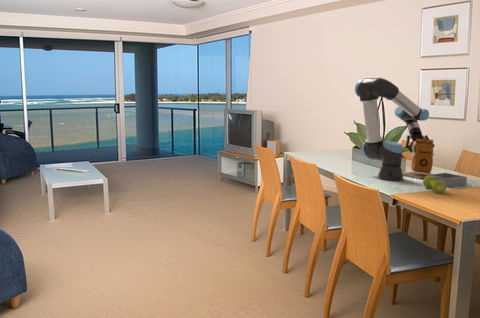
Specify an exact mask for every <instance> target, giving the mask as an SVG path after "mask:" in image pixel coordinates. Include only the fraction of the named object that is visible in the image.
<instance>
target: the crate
mask: <svg viewBox="0 0 480 318" xmlns="http://www.w3.org/2000/svg"><path fill="white" fill-rule="evenodd" d="M427 176H434V177H435V178H436V180H443V181H444V182H445V184H446V186H447V188H446V189H449V188H455V187H462V186H467V181H468V180H467V179H468V176H465V175H460V174H454V173H448V172H440V173H432V174H430V175H427Z"/></svg>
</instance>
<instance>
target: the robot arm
mask: <svg viewBox="0 0 480 318" xmlns="http://www.w3.org/2000/svg"><path fill="white" fill-rule="evenodd" d="M354 92H355V95H356V96H357V97H359V100H360V102H361V103H362V106H363V108H362V109H363V117H364V124H365V125H364V126H365V134H366V139H365V140H364V142H363V144H362V147H361V151H362V155H363V156H364V157H365V158H367V159H370V160H374V161H380V162H381V167H380V169H379V172H378V175H377V177H378V179H380V180H384V181H395V182H396V181H402V180H404V176H403V175H402V173H403V170H402V167H401V166H402V156H403V146H402V144H401V143H399V142H396V141H392V140H391V141H389V140H386V141H385V140H384V138H383V137H382V136H381V129H380V122H379V121H380V120H379V111H378V103H377V102H378V100H379V98H384V99H385V100H387V101H391V102H392V103H394V104H395V105H396V106H397V107H396V108H395V109H394V115H395V117H397V118H398V119H400V120H401V121H402V122H403V123H405V124H406V127H407V130H408V133H409V134H408V135H406V137H405V138H406V142H405V149H407V150H408V151H409V153H410V154H411V155H412V158H413V157H414V156H415V152H414V147H413V145H414V143H416V139H426V140H431V139H430V138H429V136H428V135H427V134H426V135H423V133H422V130H421V127H420V124H419V122H420V121H423V122H425V121H427V120H428V119H429V117H430V112H429V110H428V109H425V108H421V107H420V106H419V105H417V104H416V103H415V102H413V100H411V99H410V98H409V97H407V96H406V95H405V94H404V93H403V92H401V91H400V89H399V87H398V86H396V84H395V83H393V82H391V81H389V80H388V79H385V78H384V77H383V78H382V77H365V78H360V79H359V80H358V81H357V82H356V84H355V87H354ZM410 140H412V141H411V143H410ZM434 147H435V144H434V143H433V149H434ZM433 156H434V153H433Z"/></svg>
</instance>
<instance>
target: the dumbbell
mask: <svg viewBox="0 0 480 318" xmlns="http://www.w3.org/2000/svg"><path fill="white" fill-rule="evenodd" d="M422 184H423V186H424V187H425V189H432V190H433V192H434V194H443V193H445V191H447V189H448V188H447V186H446V184H445V182H444V181H443V180H436V178H435V177H434V176H426V177H425V178H424V179H422Z"/></svg>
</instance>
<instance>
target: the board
mask: <svg viewBox="0 0 480 318" xmlns="http://www.w3.org/2000/svg"><path fill="white" fill-rule="evenodd" d="M430 174H433V173H431V172H430V173H423V172H416V171H407V172H406V171H405V172H402V175H403V177H408V178H413V179H417V180H422V181H423V180H424V178H425V177H426V176H427V175H430Z"/></svg>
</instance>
